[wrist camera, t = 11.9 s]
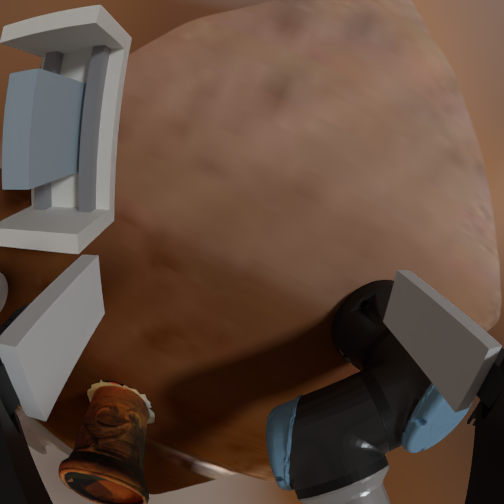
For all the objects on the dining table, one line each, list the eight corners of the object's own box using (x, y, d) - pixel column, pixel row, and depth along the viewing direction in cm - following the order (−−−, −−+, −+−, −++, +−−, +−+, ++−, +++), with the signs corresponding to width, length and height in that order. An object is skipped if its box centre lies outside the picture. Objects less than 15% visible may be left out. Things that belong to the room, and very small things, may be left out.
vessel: (157, 383, 48) (141, 485, 30) (161, 429, 53) (152, 515, 35) (79, 370, 46) (43, 460, 28) (93, 418, 51) (71, 498, 33)
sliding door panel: (79, 171, 33) (29, 189, 22) (54, 171, 33) (0, 189, 22) (87, 83, 30) (38, 68, 18) (61, 86, 29) (7, 74, 18)
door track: (114, 220, 38) (78, 254, 27) (39, 216, 36) (-9, 245, 25) (131, 38, 30) (100, 4, 19) (51, 46, 28) (3, 26, 17)
